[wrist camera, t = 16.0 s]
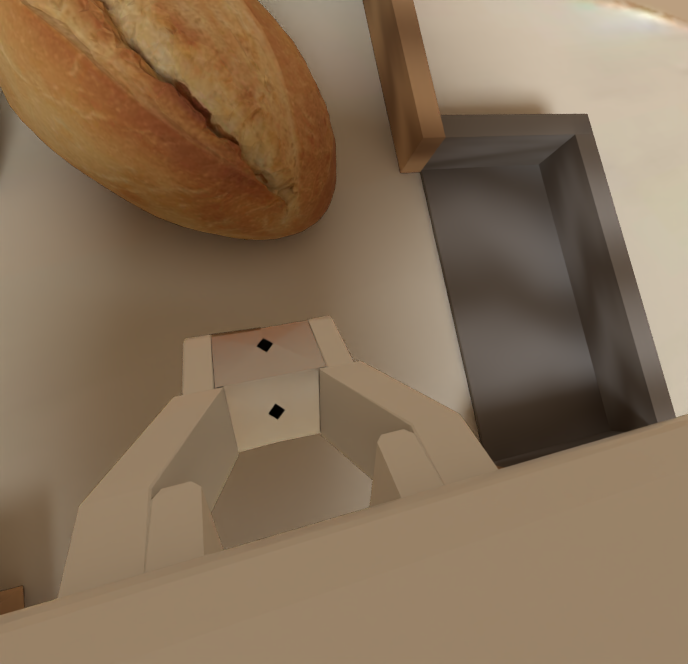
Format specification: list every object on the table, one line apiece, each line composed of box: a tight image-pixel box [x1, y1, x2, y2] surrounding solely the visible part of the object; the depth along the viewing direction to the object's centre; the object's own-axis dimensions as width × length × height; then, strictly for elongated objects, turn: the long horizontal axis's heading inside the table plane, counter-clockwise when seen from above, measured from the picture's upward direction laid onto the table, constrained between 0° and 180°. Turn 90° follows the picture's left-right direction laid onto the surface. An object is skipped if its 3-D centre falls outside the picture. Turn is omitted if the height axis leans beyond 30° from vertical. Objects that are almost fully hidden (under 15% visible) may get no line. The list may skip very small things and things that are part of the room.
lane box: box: [0, 0, 676, 615], centre depth 16 cm, size 47×39×5 cm
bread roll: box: [0, 0, 336, 240], centre depth 15 cm, size 10×15×8 cm, turn 59°
